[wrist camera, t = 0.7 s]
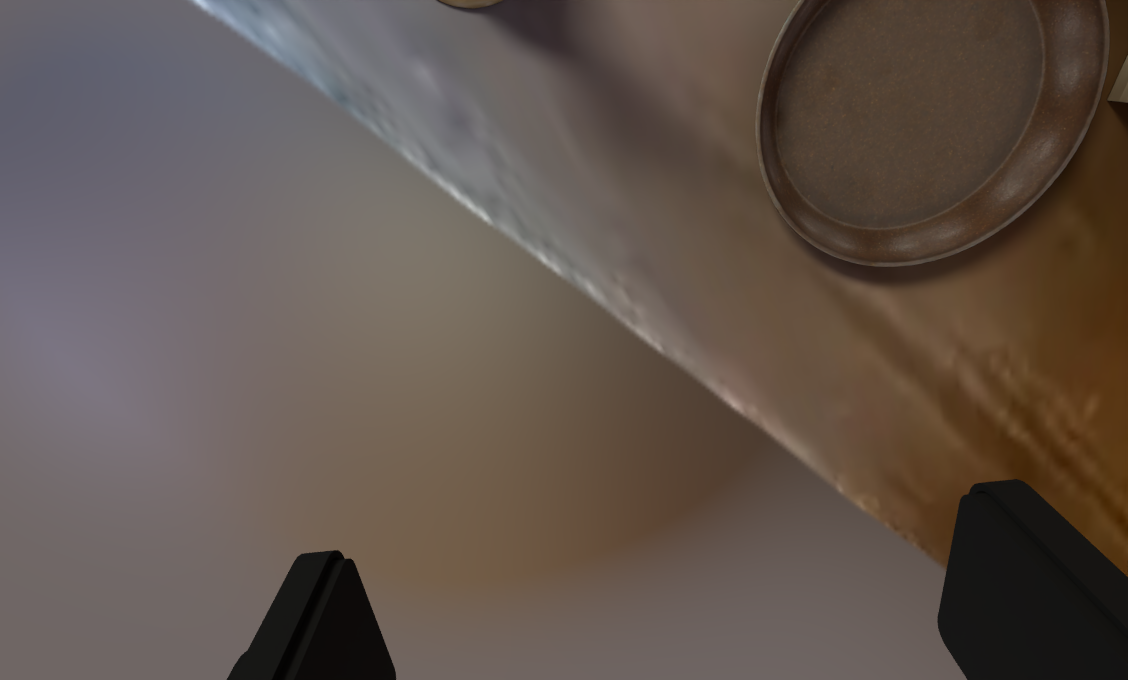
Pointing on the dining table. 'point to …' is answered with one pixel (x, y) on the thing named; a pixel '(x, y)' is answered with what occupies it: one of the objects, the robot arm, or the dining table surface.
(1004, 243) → the dining table surface
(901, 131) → the plant saucer
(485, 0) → the hand bell
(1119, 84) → the box
